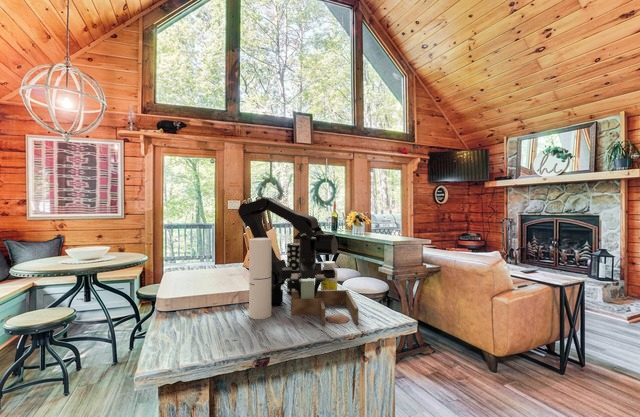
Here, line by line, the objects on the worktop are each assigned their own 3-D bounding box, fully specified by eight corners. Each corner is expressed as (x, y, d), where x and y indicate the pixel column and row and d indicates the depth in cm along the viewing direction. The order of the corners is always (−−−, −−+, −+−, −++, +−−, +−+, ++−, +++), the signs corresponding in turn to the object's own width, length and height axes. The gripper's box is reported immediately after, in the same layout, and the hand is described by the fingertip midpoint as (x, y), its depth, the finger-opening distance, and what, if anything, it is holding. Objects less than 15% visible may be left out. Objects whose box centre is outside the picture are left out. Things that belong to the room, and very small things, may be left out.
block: (300, 305, 107) (301, 282, 106) (300, 301, 111) (300, 279, 111) (314, 305, 107) (314, 282, 107) (313, 301, 111) (313, 278, 111)
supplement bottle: (318, 292, 130) (318, 261, 130) (332, 290, 133) (333, 260, 133) (325, 296, 124) (325, 264, 124) (340, 294, 127) (340, 262, 127)
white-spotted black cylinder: (283, 294, 127) (284, 244, 127) (291, 289, 135) (291, 242, 135) (303, 296, 125) (303, 245, 124) (310, 290, 132) (310, 243, 132)
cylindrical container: (266, 319, 99) (266, 240, 98) (245, 318, 100) (245, 239, 100) (274, 312, 106) (274, 238, 105) (254, 310, 107) (254, 237, 107)
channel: (290, 326, 94) (290, 309, 94) (291, 304, 114) (291, 290, 114) (358, 324, 95) (358, 308, 95) (347, 303, 116) (347, 289, 115)
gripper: (279, 256, 100) (278, 305, 100) (337, 256, 101) (337, 304, 102) (280, 251, 111) (280, 295, 111) (333, 251, 112) (333, 294, 113)
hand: (307, 297), depth 109 cm, fingers closed on block, 4 cm apart
